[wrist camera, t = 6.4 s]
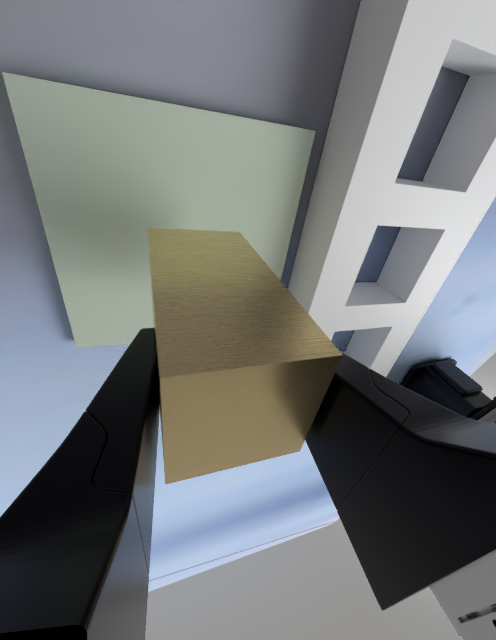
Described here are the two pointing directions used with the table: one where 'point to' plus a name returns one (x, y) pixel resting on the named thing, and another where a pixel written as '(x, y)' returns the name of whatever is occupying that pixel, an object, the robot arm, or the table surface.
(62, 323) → the table surface
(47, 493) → the robot arm
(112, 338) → the pad
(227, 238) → the plug
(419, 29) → the white slotted frame
